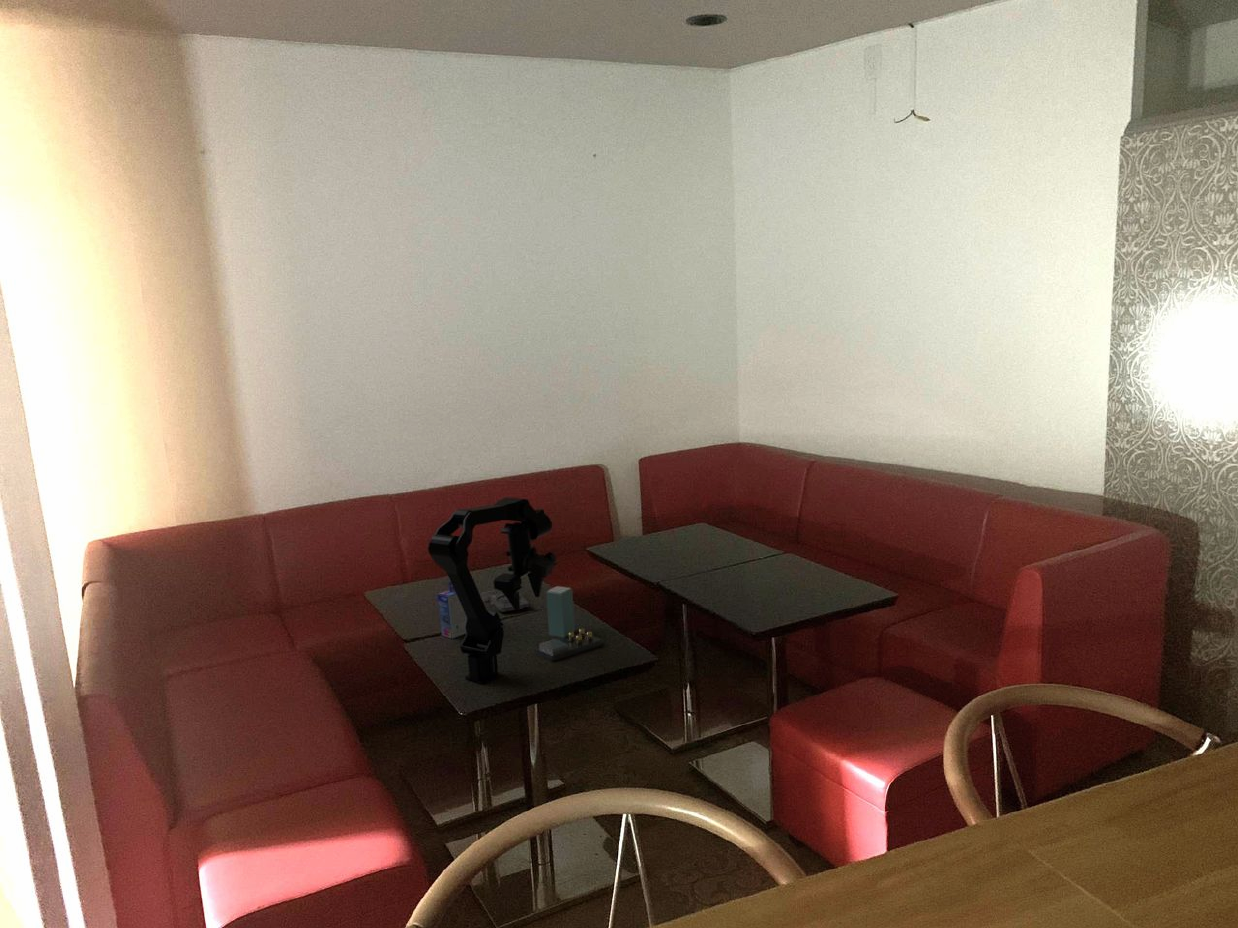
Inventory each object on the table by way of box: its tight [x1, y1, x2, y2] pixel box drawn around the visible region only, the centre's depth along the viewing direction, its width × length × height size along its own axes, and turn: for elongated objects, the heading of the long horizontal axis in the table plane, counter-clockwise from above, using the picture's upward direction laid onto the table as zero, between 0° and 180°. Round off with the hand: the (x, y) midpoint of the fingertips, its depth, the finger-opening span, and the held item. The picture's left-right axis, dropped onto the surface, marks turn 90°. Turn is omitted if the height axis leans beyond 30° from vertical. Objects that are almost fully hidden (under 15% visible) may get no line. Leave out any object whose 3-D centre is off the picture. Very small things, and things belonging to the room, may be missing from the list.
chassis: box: [533, 627, 603, 662], centre depth 246 cm, size 16×8×4 cm, turn 129°
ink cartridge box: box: [436, 581, 467, 639], centre depth 262 cm, size 10×6×14 cm, turn 137°
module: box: [545, 586, 576, 638], centre depth 257 cm, size 5×5×12 cm
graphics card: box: [479, 589, 530, 613], centre depth 285 cm, size 17×4×12 cm
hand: (527, 603), depth 243 cm, fingers open, 9 cm apart
